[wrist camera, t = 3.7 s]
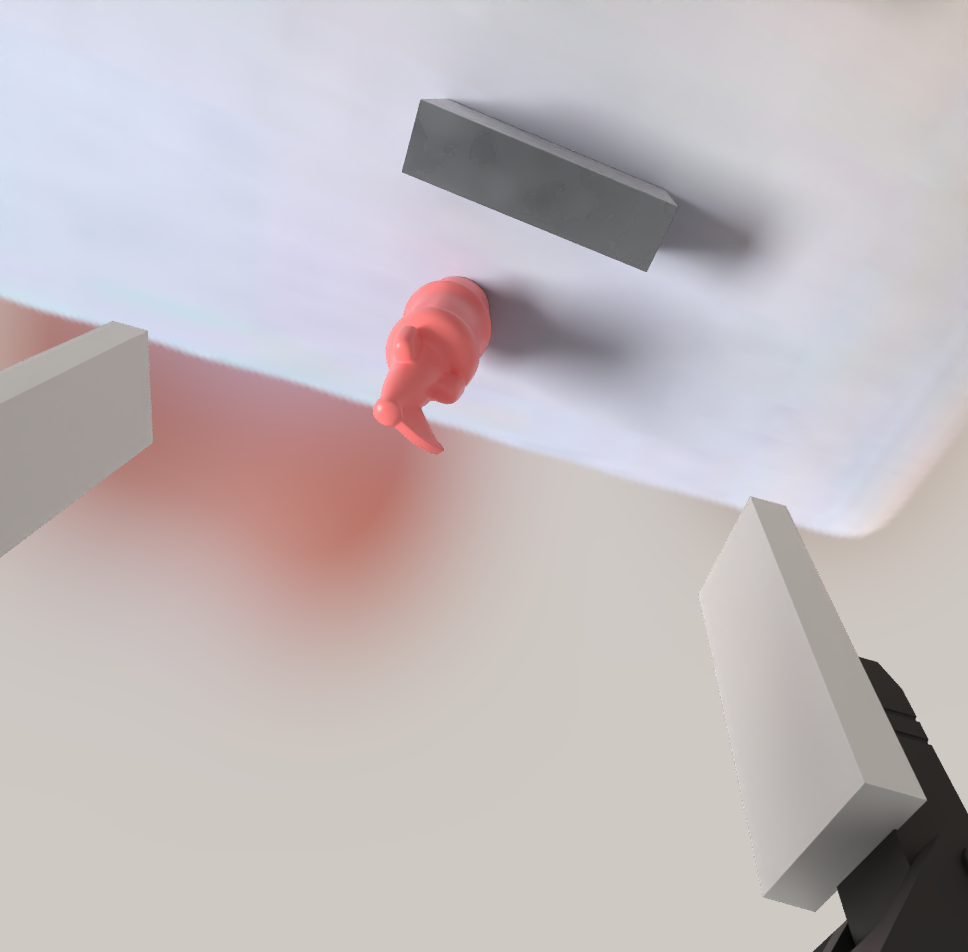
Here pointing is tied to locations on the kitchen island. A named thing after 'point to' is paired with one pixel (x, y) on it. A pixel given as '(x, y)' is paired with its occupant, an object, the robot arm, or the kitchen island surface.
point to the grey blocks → (538, 182)
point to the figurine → (433, 355)
